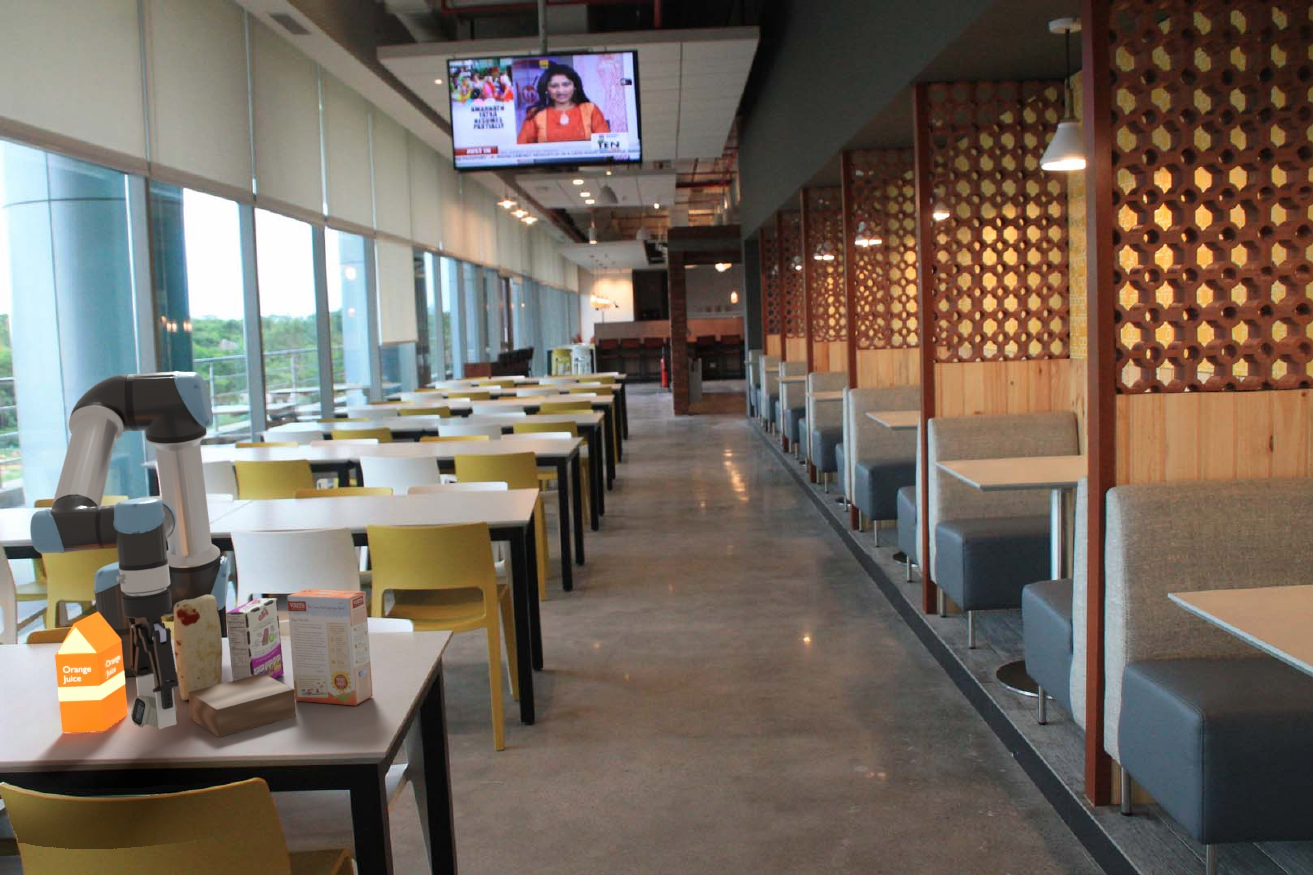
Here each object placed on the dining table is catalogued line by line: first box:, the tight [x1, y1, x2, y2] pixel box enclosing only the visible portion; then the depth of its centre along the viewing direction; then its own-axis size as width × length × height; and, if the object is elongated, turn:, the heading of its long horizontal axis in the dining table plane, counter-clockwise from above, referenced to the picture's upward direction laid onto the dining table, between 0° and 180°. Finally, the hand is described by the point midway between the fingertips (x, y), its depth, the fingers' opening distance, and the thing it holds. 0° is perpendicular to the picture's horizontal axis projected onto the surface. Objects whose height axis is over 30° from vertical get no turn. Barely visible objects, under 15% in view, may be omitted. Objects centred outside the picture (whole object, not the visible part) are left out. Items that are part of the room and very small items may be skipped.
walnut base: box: [188, 673, 297, 738], centre depth 194 cm, size 14×14×5 cm
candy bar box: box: [225, 597, 285, 681], centre depth 212 cm, size 11×5×16 cm, turn 169°
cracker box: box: [286, 588, 373, 706], centre depth 201 cm, size 14×6×21 cm, turn 71°
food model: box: [173, 595, 223, 701], centre depth 206 cm, size 10×7×20 cm
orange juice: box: [54, 611, 129, 733], centre depth 193 cm, size 8×9×20 cm
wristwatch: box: [130, 695, 178, 728], centre depth 180 cm, size 9×6×5 cm
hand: (157, 718), depth 180 cm, fingers closed on wristwatch, 9 cm apart
